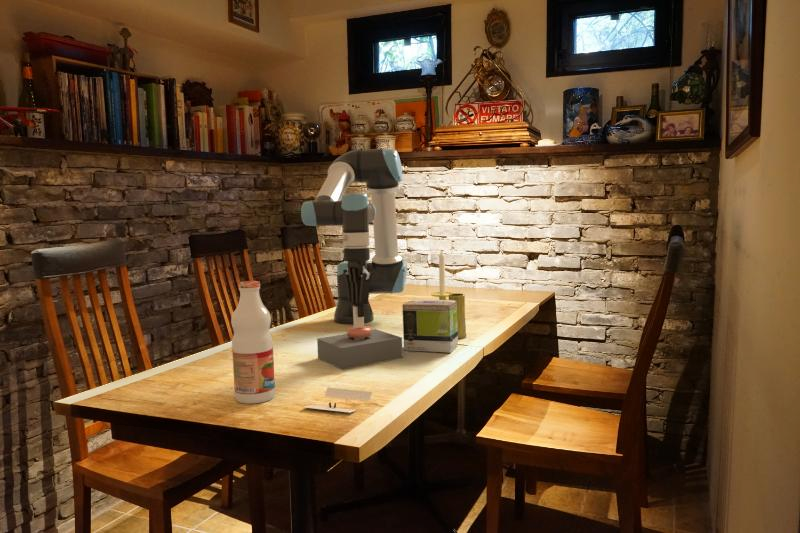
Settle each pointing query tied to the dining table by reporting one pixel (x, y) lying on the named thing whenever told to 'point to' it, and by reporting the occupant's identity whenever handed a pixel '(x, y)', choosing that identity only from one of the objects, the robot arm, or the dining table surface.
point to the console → (359, 349)
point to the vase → (460, 313)
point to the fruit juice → (252, 347)
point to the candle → (442, 279)
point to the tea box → (430, 325)
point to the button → (359, 332)
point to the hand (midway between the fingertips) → (358, 327)
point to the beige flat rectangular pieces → (343, 394)
